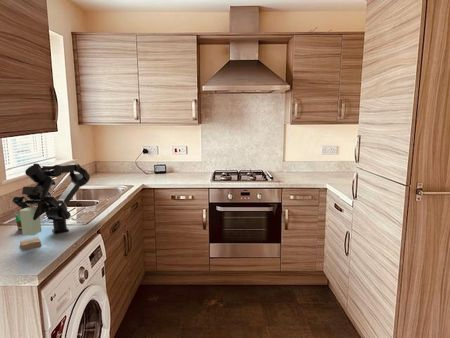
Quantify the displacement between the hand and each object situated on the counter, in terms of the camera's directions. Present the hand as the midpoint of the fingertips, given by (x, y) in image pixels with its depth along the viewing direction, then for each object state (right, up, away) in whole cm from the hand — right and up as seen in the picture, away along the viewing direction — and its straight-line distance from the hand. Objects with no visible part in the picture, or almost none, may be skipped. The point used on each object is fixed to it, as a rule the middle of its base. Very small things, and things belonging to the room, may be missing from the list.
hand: (28, 219), depth 137 cm
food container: (-16, -9, +28) cm, 33 cm away
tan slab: (-1, -12, +4) cm, 13 cm away
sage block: (0, -6, +2) cm, 7 cm away
